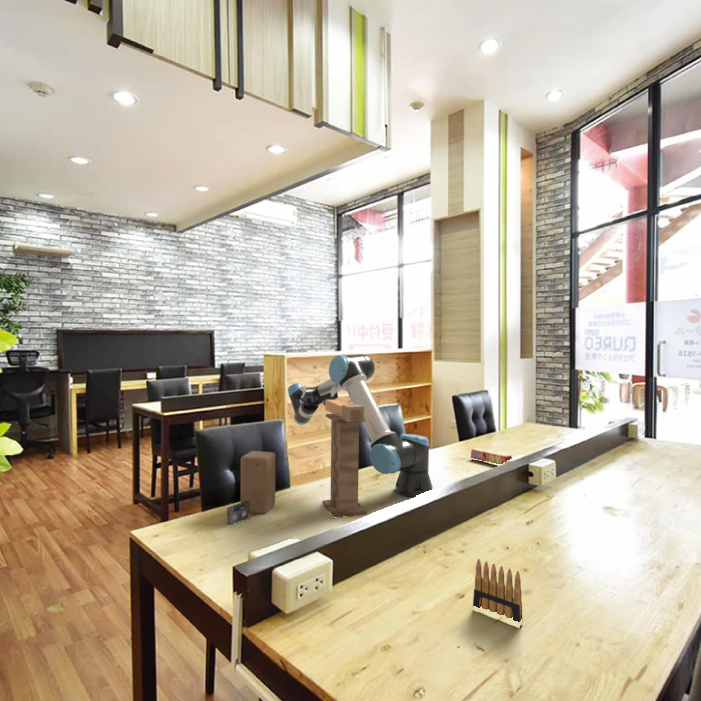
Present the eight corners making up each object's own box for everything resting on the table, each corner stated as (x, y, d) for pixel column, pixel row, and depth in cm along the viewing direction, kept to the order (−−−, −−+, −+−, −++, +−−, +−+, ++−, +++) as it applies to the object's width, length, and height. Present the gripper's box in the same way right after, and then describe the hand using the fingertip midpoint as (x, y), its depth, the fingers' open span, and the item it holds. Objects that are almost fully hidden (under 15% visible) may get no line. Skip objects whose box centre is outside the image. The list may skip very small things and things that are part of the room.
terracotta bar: (322, 409, 181) (323, 397, 181) (337, 409, 183) (337, 396, 183) (347, 422, 155) (348, 407, 155) (364, 421, 157) (364, 406, 157)
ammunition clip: (472, 610, 105) (473, 559, 104) (475, 607, 106) (476, 556, 106) (519, 629, 98) (521, 574, 98) (522, 625, 100) (523, 570, 99)
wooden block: (265, 515, 160) (266, 458, 160) (239, 512, 162) (239, 456, 162) (276, 505, 170) (276, 451, 170) (250, 502, 172) (251, 450, 172)
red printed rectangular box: (469, 460, 238) (469, 447, 238) (477, 458, 242) (477, 446, 242) (505, 470, 221) (505, 456, 221) (513, 467, 225) (513, 454, 225)
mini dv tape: (245, 517, 158) (245, 500, 158) (248, 518, 157) (248, 501, 157) (226, 525, 152) (226, 507, 151) (229, 526, 151) (229, 508, 151)
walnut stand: (322, 504, 171) (323, 414, 170) (352, 500, 175) (353, 412, 175) (334, 518, 158) (335, 420, 157) (366, 514, 162) (367, 418, 162)
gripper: (335, 413, 215) (349, 395, 197) (282, 416, 206) (292, 397, 188) (332, 398, 218) (346, 379, 201) (281, 400, 209) (290, 381, 192)
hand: (320, 388), depth 194 cm, fingers open, 13 cm apart
